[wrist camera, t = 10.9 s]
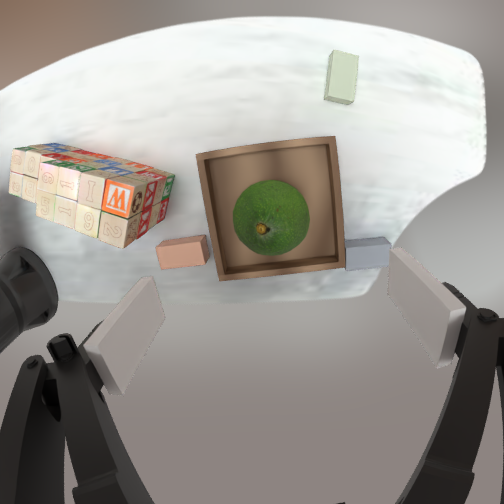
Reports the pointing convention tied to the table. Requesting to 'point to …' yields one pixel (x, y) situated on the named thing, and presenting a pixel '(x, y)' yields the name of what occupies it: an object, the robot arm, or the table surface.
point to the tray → (286, 170)
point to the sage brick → (341, 77)
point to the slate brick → (366, 253)
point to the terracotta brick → (183, 252)
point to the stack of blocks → (91, 191)
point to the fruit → (271, 217)
